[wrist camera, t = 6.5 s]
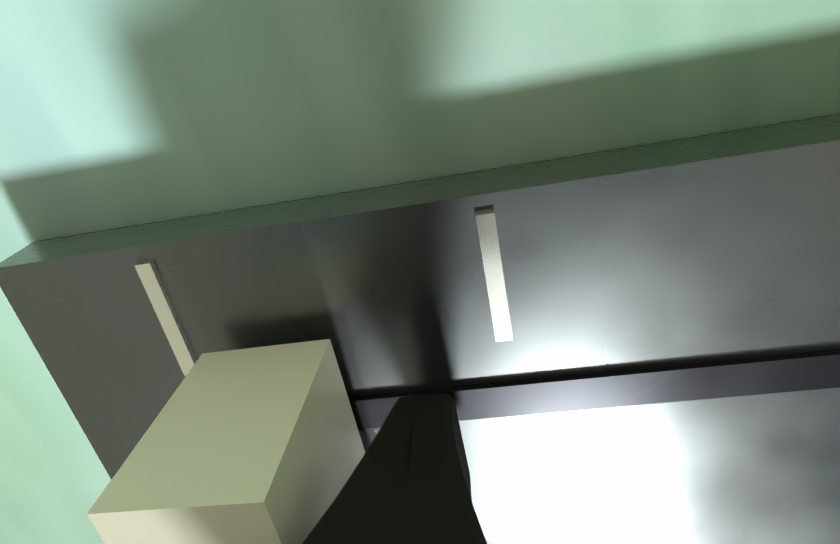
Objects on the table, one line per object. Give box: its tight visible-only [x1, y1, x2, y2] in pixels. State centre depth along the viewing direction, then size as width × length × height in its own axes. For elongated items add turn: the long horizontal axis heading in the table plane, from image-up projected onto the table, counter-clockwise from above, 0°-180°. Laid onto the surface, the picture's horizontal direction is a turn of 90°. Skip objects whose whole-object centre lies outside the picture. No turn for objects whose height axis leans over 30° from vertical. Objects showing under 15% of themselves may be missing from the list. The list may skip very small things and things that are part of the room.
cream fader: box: [87, 339, 365, 544], centre depth 9 cm, size 2×4×4 cm, turn 11°
